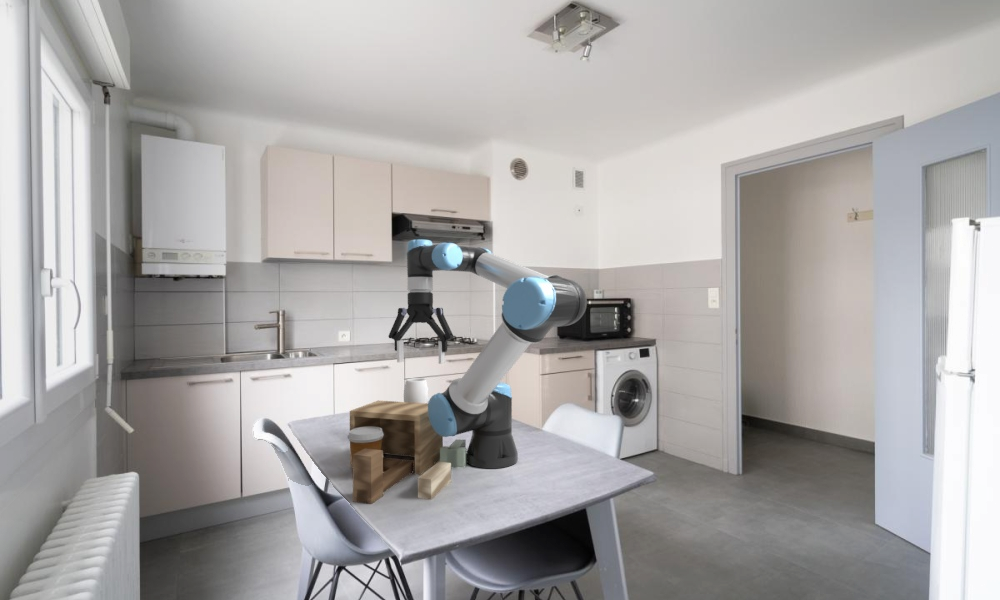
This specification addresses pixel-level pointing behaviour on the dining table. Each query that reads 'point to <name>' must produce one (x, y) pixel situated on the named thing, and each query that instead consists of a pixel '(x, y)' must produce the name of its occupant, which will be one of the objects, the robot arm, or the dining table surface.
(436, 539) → the dining table surface
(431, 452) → the wooden storage bin
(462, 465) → the tee stick
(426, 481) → the beech stick
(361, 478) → the crook
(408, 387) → the wineglass
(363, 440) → the disposable coffee cup
